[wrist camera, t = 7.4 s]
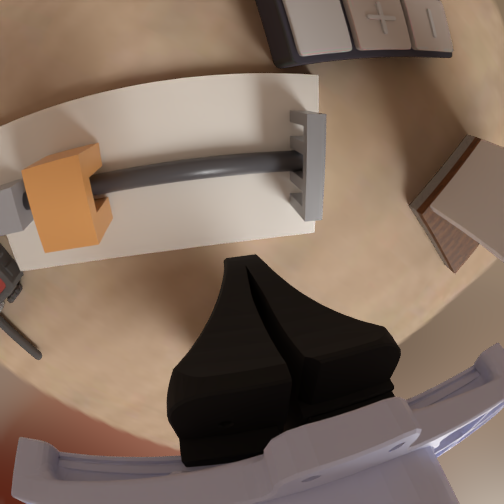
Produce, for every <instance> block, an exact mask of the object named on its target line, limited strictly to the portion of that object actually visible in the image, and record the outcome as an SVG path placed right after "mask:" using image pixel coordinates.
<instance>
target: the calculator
mask: <svg viewBox="0 0 504 504" xmlns="http://www.w3.org/2000/svg"><path fill="white" fill-rule="evenodd" d="M255 1H256V4H257V7H258V11H259V14H260V17H261V20H262V24H263V27H264V30H265V34H266V37H267V40H268V44H269V47H270V51H271V55H272V58H273V62H274V64H275V66H276V67H277V68H287V67H293V66H299V65H306V64H313V63H320V62H328V61H337V60H347V59H359V58H377V57H434V58H451V57H452V52H453V45H452V40H451V36H450V31H449V27H448V23H447V19H446V15H445V11H444V7H443V4H442V2H441V1H440V0H255Z"/></svg>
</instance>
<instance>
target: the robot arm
mask: <svg viewBox="0 0 504 504" xmlns="http://www.w3.org/2000/svg"><path fill="white" fill-rule="evenodd" d="M400 356H401V351H400V348H399V347H398V345H397V343H396V342H395V340H394V339H393V337H392V336H391V334H390V333H389V332H388V331H387V329H386V328H385V327H383V326H379V325H375V324H371V323H367V322H364V321H360V320H357V319H354V318H352V317H349V316H346V315H343V314H341V313H338V312H336V311H334V310H332V309H330V308H328V307H325V306H323V305H321V304H319V303H318V302H316V301H314V300H312V299H311V298H309V297H307V296H306V295H304V294H302V293H301V292H299V291H298V290H297V289H295V288H294V287H292V286H291V285H290V284H289V283H287V282H286V281H285V280H284V279H282V278H281V277H280V276H279V275H278V274H276V273H275V272H274V271H273V270H272V269H271V268H270V267H269V266H268V265H267V264H266V263H265V262H264V261H263V260H262V259H261V258H260V257H259V256H257V255H256V254H255V255H247V256H240V257H232V258H226V259H225V260H224V276H223V281H222V285H221V289H220V293H219V296H218V299H217V302H216V304H215V307H214V309H213V312H212V314H211V316H210V318H209V320H208V322H207V324H206V326H205V328H204V329H203V331H202V333H201V334H200V336H199V338H198V339H197V340H196V342H195V343H194V345H193V346H192V348H191V349H190V350H189V352H188V353H187V354H186V355H185V357H184V358H183V359H182V360H181V361H180V362H179V363H178V365H177V366H176V367H175V368H174V369H173V372H172V375H171V379H170V383H169V387H168V393H167V417H168V421H169V423H170V424H171V426H172V428H173V429H174V431H175V433H176V434H177V436H178V438H179V441H180V452H181V456H165V457H111V456H95V455H83V454H73V453H65V452H59V451H58V450H57V449H56V448H55V447H53V446H52V445H51V444H49V443H47V442H45V441H41V440H35V439H29V438H24V437H20V438H19V442H18V447H17V453H16V460H15V466H14V474H13V483H12V493H11V495H12V496H13V497H14V498H16V499H18V500H20V501H22V502H24V503H27V504H459V502H458V500H457V498H456V495H455V493H454V491H453V489H452V487H451V485H450V483H449V481H448V479H447V477H446V475H445V473H444V471H443V470H442V468H441V465H440V464H439V462H438V460H437V457H439V456H440V455H442V454H443V453H445V452H446V451H448V450H449V449H451V448H452V447H453V446H455V445H457V444H458V443H459V442H461V441H462V440H464V439H465V438H466V437H468V436H469V435H470V434H472V433H473V432H474V431H476V430H477V429H478V428H480V427H481V426H482V425H484V424H485V423H486V422H487V421H489V420H490V419H491V418H492V417H494V416H495V415H496V414H497V413H498V412H499V411H500V410H501V409H502V408H503V407H504V349H503V347H502V346H501V345H500V344H499V343H496V344H495V345H493V346H491V347H489V348H488V349H487V350H485V351H484V352H482V353H481V354H480V356H479V357H478V358H477V360H476V361H475V363H474V365H473V366H472V367H470V368H468V369H466V370H465V371H463V372H461V373H459V374H458V375H456V376H454V377H452V378H450V379H448V380H447V381H445V382H443V383H441V384H439V385H437V386H435V387H433V388H431V389H429V390H427V391H425V392H423V393H420V394H418V395H416V396H414V397H412V398H410V399H408V400H405V399H403V398H400V397H395V396H394V394H393V392H392V390H393V389H394V385H393V383H392V382H391V380H390V378H391V376H392V374H393V372H394V370H395V368H396V366H397V364H398V361H399V358H400Z"/></svg>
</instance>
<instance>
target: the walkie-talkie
mask: <svg viewBox="0 0 504 504" xmlns="http://www.w3.org/2000/svg"><path fill="white" fill-rule="evenodd" d="M22 276H23V271H20V269H19V267H18V264H17V263H16V262H15V261H14V259H13V258H12V257H11V256H10V255H9V254H8V252H7V251H6V250H5V249H4V247H3V246H2V245H1V244H0V312H1V310H2V309H3V307H4V304H5V302H4V300H5V299H6V298H7V297H8V300H7V301H8V302H9V303H12V302H13V301H14V300H15V299H16V297H17V296H18V295H19V293H20V292H21V290H22V285H21V284H18V285H17V283H18V282H19V280H20V279H21V277H22ZM0 327H1V328H2V329H3V330H4V331H5V332H6V333H7V334H8V335H9V336H10V337H11V338H12V339H13V340H14V341H16V342H17V343H18V344H19V345H20V346H21V347H22V348H24V349H25V350H26V351H27V352H28V353H29V354H31V355H32V356H33V357H34V358H35V359H37V360H40V359H41V358H42V353H41V352H40V351H39V350H38V349H36V348H35V347H34V346H33V345H32V344H31V343H29V342H28V341H27V340H26V339H25V338H24V337H23V336H22V335H20V334H19V333H18V332H17V331H16V330H15V329H14V328H13V327H12V326H11V325H10V324H9V323H8V322H7V321H6V320H5V319H4V318H3V317H2V316H1V315H0Z"/></svg>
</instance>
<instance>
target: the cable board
mask: <svg viewBox="0 0 504 504" xmlns="http://www.w3.org/2000/svg"><path fill="white" fill-rule="evenodd" d="M95 143H99V148H100V155H101V161H102V167H100V168H99V169H98V170H97V171H96V172H95V173H94V174H93V175H91V176H90V177H89V180H90V185H91V189H92V194H93V198H94V199H98V198H104V197H108V198H109V202H110V207H111V211H112V216H113V219H112V221H111V223H110V225H109V226H108V228H107V230H106V232H105V234H104V236H103V238H102V240H101V242H100V244H99V245H93V246H86V247H80V248H73V249H67V250H61V251H55V252H49V253H45V252H44V249H43V246H42V243H41V240H40V237H39V234H38V231H37V228H36V225H35V222H34V219H33V215H32V212H31V208H30V205H29V201H28V197H27V193H26V189H25V185H24V181H23V177H22V172H21V170H23V169H25V168H26V167H28V166H30V165H32V164H33V163H35V162H37V161H39V160H41V159H42V158H44V157H46V156H48V155H52V154H55V153H59V152H62V151H66V150H70V149H74V148H78V147H82V146H86V145H90V144H95ZM325 152H326V114H322V113H319V75H309V74H287V73H246V74H223V75H209V76H197V77H188V78H179V79H171V80H164V81H157V82H151V83H145V84H139V85H134V86H129V87H124V88H119V89H115V90H110V91H106V92H102V93H97V94H94V95H90V96H86V97H82V98H79V99H75V100H72V101H68V102H65V103H62V104H59V105H55V106H52V107H49V108H46V109H43V110H41V111H38V112H35V113H32V114H30V115H27V116H24V117H22V118H19V119H17V120H14V121H12V122H9V123H7V124H5V125H2V126H0V236H3V235H7V238H8V241H9V244H10V246H11V249H12V252H13V254H14V257H15V259H16V262H17V264H18V267H19V269H20V271H27V270H34V269H41V268H48V267H54V266H61V265H68V264H75V263H82V262H89V261H97V260H104V259H111V258H118V257H126V256H133V255H140V254H148V253H155V252H163V251H170V250H178V249H186V248H193V247H201V246H209V245H217V244H225V243H233V242H241V241H249V240H257V239H265V238H273V237H282V236H290V235H298V234H307V233H314V232H315V221H316V220H322V213H323V197H324V178H325Z"/></svg>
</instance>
